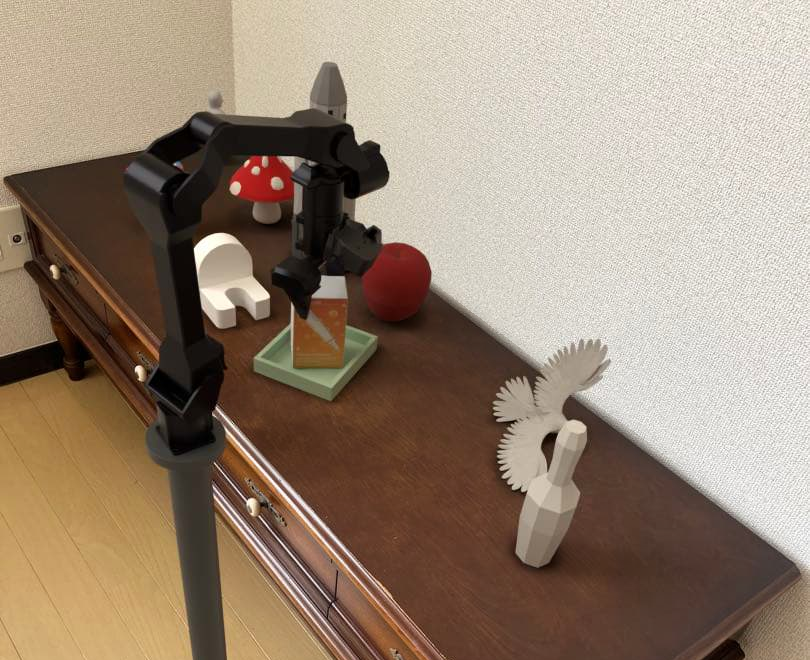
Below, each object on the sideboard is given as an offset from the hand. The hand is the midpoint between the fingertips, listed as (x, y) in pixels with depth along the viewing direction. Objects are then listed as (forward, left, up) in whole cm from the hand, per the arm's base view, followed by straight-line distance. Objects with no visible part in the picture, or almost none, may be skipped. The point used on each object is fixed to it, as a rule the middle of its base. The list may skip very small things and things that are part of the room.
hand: (319, 304), depth 123 cm
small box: (0, 0, -10) cm, 10 cm away
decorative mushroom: (+14, +43, -11) cm, 46 cm away
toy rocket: (+16, +25, -11) cm, 32 cm away
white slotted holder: (-5, +23, -11) cm, 26 cm away
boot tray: (0, 0, -10) cm, 10 cm away
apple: (+18, +5, -11) cm, 22 cm away
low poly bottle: (+4, -48, -11) cm, 49 cm away
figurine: (+17, +70, -11) cm, 73 cm away
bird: (+16, -32, -11) cm, 37 cm away
